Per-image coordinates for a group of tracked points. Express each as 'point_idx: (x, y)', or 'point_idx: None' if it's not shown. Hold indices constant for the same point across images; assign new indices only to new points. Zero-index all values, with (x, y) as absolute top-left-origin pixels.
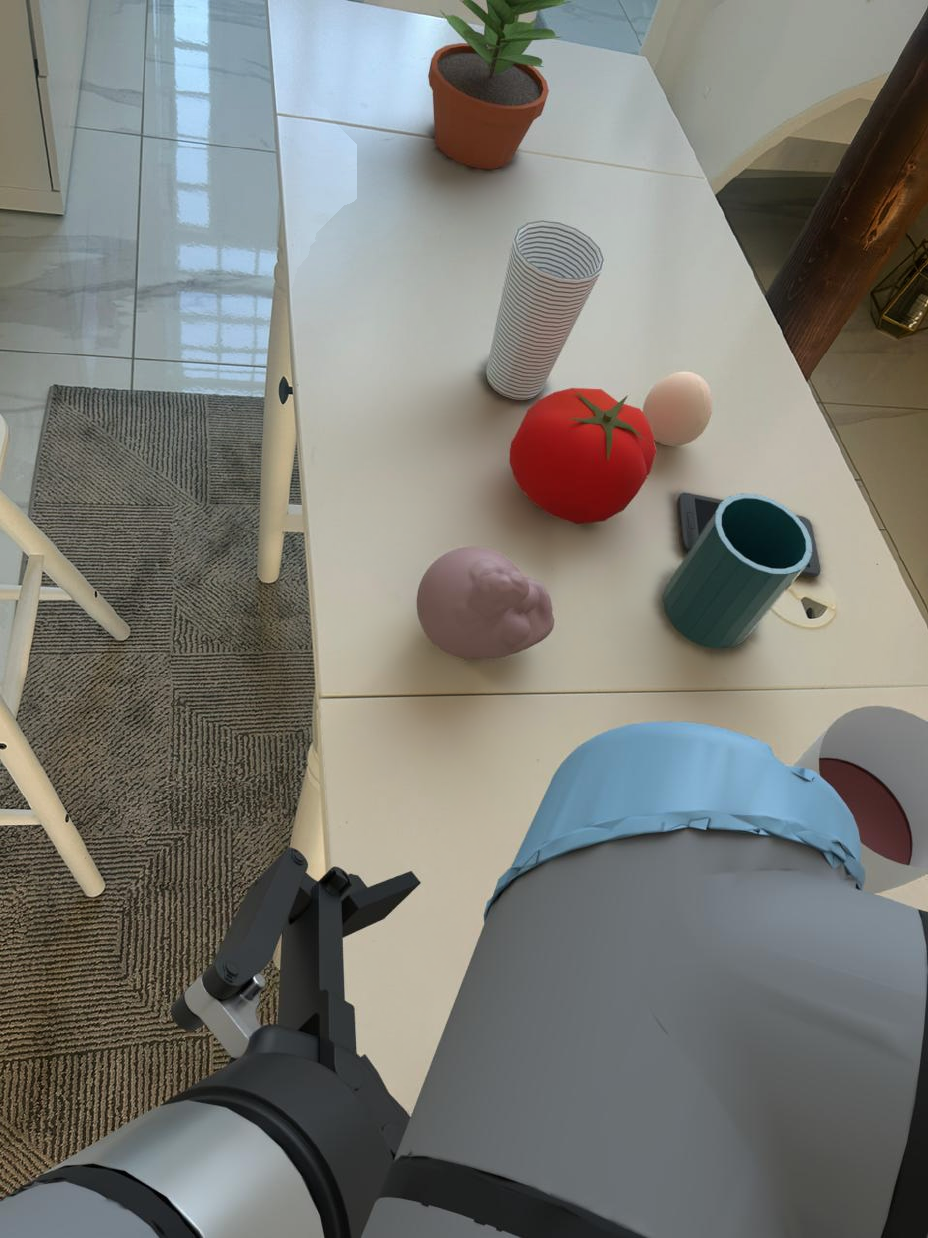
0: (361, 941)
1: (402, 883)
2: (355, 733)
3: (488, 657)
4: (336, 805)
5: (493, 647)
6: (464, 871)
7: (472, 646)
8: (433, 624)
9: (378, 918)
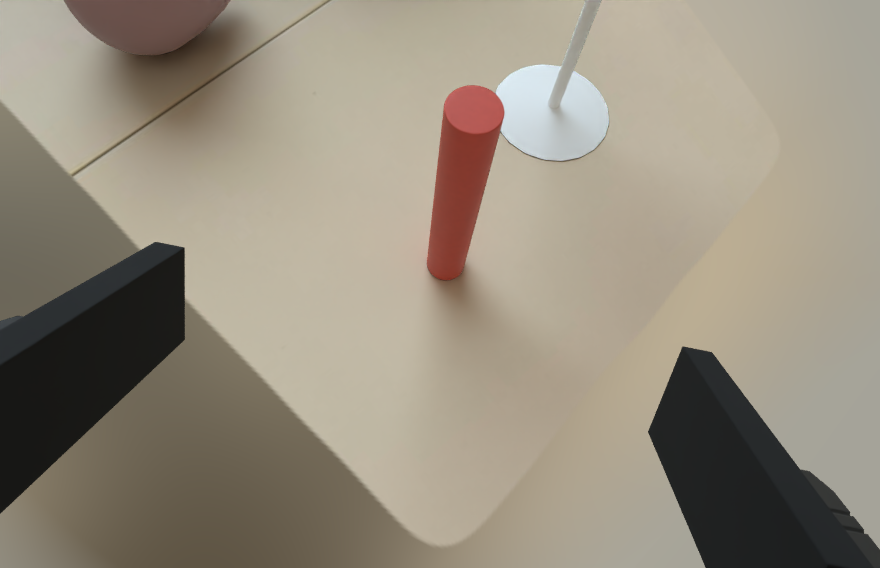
0: (272, 357)
1: (132, 268)
2: (125, 187)
3: (194, 27)
4: None
5: (185, 8)
6: (320, 229)
7: (163, 20)
8: (105, 24)
9: (159, 348)
